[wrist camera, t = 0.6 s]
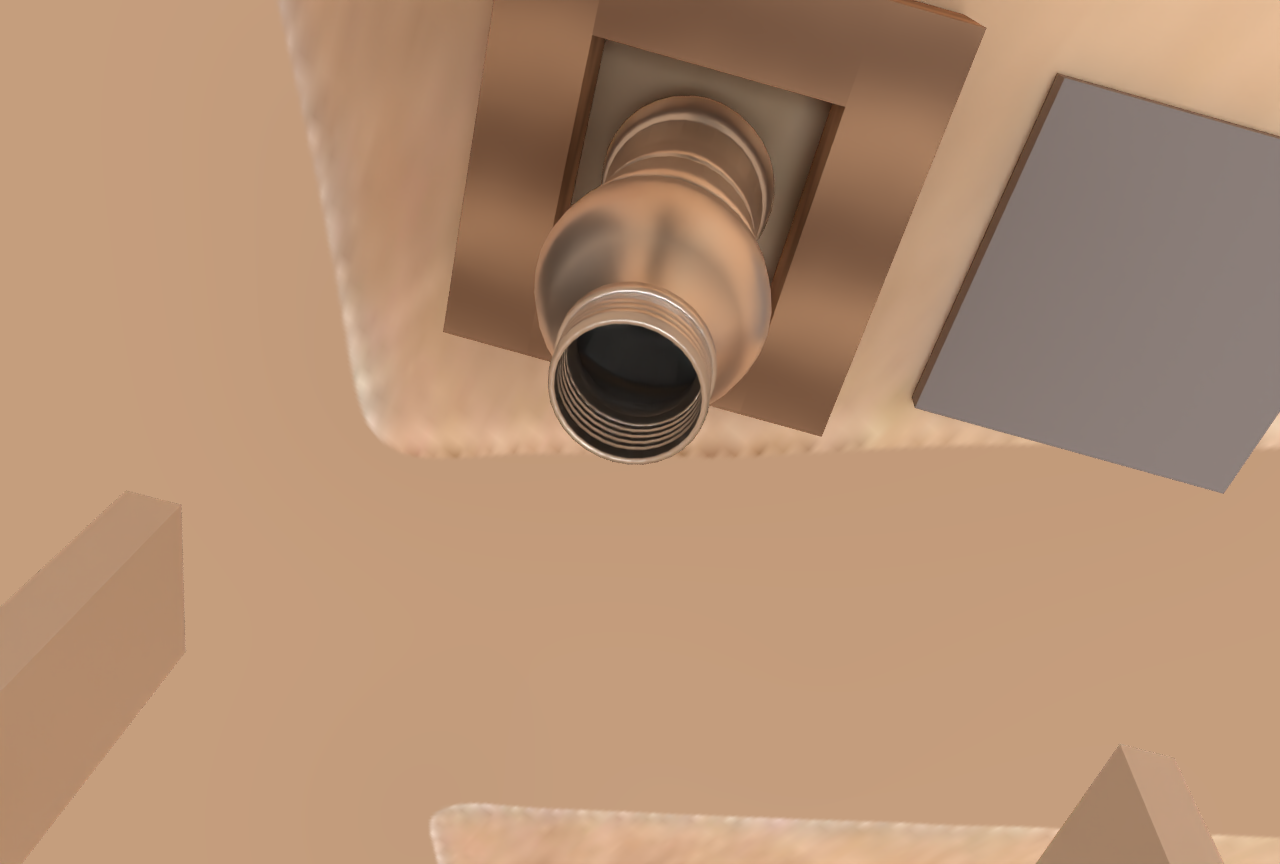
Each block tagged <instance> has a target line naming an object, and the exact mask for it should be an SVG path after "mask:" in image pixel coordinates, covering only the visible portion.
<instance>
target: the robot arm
mask: <svg viewBox="0 0 1280 864" xmlns="http://www.w3.org/2000/svg"><path fill="white" fill-rule="evenodd" d="M184 653H185V620H184V583H183V549H182V513H181V504H177V503H173V502H169V501H165V500H161V499H157V498H153V497H149V496H145V495H141V494H137V493H133V492H130V491H125V492H124V493H123V494H122V495H121V496H120V497H119V498H118V499H116V500H115V501H114V502H113V503H112V504H111V505H110V506H109V507H108V508H107V509H106V510H104V511H103V513H101V514H100V515H99V516H98V517H97V518H96V519H95V520H94V521H93V522H92V523H90V525H88V526H87V527H86V528H85V529H84V530H83V531H82V532H81V533H80V534H78V536H76V537H75V538H74V539H73V540H72V541H71V542H70V543H69V544H68V545H67V546H65V548H63V549H62V550H61V551H60V552H59V553H58V554H57V555H56V556H55V557H54V558H53V559H51V560H50V561H49V562H48V563H47V564H46V565H45V566H44V567H43V568H42V569H41V570H39V571H38V572H37V573H36V574H35V575H34V576H33V577H32V578H31V579H30V580H29V581H28V582H26V583H25V584H24V585H23V586H22V587H21V588H20V589H19V590H18V591H17V592H16V593H15V594H13V595H12V596H11V597H10V598H9V599H8V600H7V601H6V602H5V603H4V604H3V605H2V606H0V864H22V863H23V862H24V860H25V859H26V858H27V856H28V855H29V854H30V853H31V851H32V850H33V849H34V847H35V846H36V845H37V844H38V842H39V841H40V840H41V838H42V837H43V836H44V834H45V833H46V832H47V831H48V829H49V828H50V827H51V825H52V824H53V823H54V822H55V820H56V819H57V817H58V816H59V815H60V814H61V812H62V811H63V810H64V809H65V807H66V806H67V805H68V803H69V802H70V801H71V799H72V798H73V797H74V796H75V794H76V793H77V792H78V791H79V789H80V788H81V787H82V785H83V784H84V783H85V781H86V780H87V779H88V777H89V776H90V775H91V774H92V772H93V771H94V770H95V769H96V767H97V766H98V765H99V763H100V762H101V761H102V759H103V758H104V757H105V755H106V754H107V753H108V752H109V750H110V749H111V748H112V747H113V745H114V744H115V743H116V741H117V740H118V739H119V737H120V736H121V735H122V733H123V732H124V731H125V730H126V728H127V727H128V726H129V725H130V723H131V722H132V721H133V719H134V718H135V717H136V715H137V714H138V713H139V712H140V710H141V709H142V708H143V706H144V705H145V704H146V702H147V701H148V700H149V699H150V697H151V696H152V695H153V693H154V692H155V691H156V690H157V688H158V687H159V686H160V684H161V683H162V682H163V681H164V679H165V678H166V676H167V675H168V674H169V673H170V671H171V670H172V669H173V668H174V666H175V665H176V664H177V662H178V661H179V660H180V659H181V657H182V656H183V655H184ZM1036 864H1224V863H1223V860H1222V858H1221V856H1220V854H1219V852H1218V850H1217V848H1216V846H1215V843H1214V841H1213V839H1212V837H1211V835H1210V833H1209V831H1208V829H1207V826H1206V824H1205V822H1204V820H1203V818H1202V816H1201V814H1200V812H1199V809H1198V807H1197V805H1196V803H1195V801H1194V799H1193V797H1192V795H1191V792H1190V790H1189V788H1188V786H1187V784H1186V782H1185V780H1184V778H1183V776H1182V773H1181V771H1180V769H1179V767H1178V765H1177V763H1176V761H1175V758H1173V757H1169V756H1165V755H1161V754H1158V753H1154V752H1150V751H1146V750H1142V749H1138V748H1134V747H1130V746H1126V745H1122V744H1120V745H1119V746H1118V747H1117V749H1116V750H1115V752H1114V753H1113V754H1112V756H1111V757H1110V759H1109V760H1108V762H1107V763H1106V764H1105V766H1104V767H1103V769H1102V770H1101V772H1100V773H1099V774H1098V776H1097V777H1096V779H1095V780H1094V782H1093V783H1092V784H1091V786H1090V787H1089V789H1088V790H1087V791H1086V793H1085V794H1084V796H1083V797H1082V799H1081V800H1080V802H1079V803H1078V804H1077V806H1076V807H1075V809H1074V810H1073V812H1072V813H1071V814H1070V816H1069V817H1068V819H1067V820H1066V821H1065V823H1064V824H1063V826H1062V827H1061V829H1060V830H1059V831H1058V833H1057V834H1056V836H1055V837H1054V839H1053V840H1052V841H1051V843H1050V844H1049V846H1048V847H1047V849H1046V850H1045V851H1044V853H1043V854H1042V856H1041V857H1040V859H1039V860H1038V861H1037V863H1036Z"/></svg>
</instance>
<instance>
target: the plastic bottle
mask: <svg viewBox="0 0 1280 864" xmlns="http://www.w3.org/2000/svg"><path fill="white" fill-rule="evenodd" d="M773 199H774V174H773V169H772V165H771V160H770V157H769V155H768V153H767V150H766V148H765V146H764V144H763V142H762V140H761V139H760V137H759V136H758V134H757V133H756V132H755V130H754V129H753V127H752V126H751V125H750V124H749V123H747V122H746V121H745V120H744V119H743V118H742V117H741V116H740V115H739V114H738V113H737V112H735V111H734V110H732V109H730V108H729V107H727V106H726V105H724V104H722V103H719V102H717V101H714V100H712V99H709V98H704V97H698V96H672V97H668V98H664V99H660V100H657V101H654V102H652V103H650V104H648V105H646V106H644V107H642V108H640V109H639V110H638V111H637V112H635V113H634V114H633V115H632V116H630V117H629V118H628V119H627V120H626V121H625V122H624V123H623V125H622V126H621V127H620V128H619V130H618V131H617V132H616V134H615V136H614V138H613V140H612V142H611V144H610V145H609V147H608V151H607V154H606V158H605V161H604V166H603V173H602V185H601V186H599V187H598V188H596V189H594V190H592V191H590V192H589V193H587V194H586V195H585V196H584V197H582V198H581V199H580V200H579V201H577V202H576V203H575V204H573V205H572V206H571V207H570V208H569V209H568V210H567V211H566V212H565V213H564V214H563V216H562V217H561V218H560V219H559V221H558V222H557V223H556V224H555V225H554V227H553V228H552V229H551V231H550V233H549V235H548V237H547V239H546V241H545V243H544V244H543V246H542V248H541V251H540V255H539V259H538V263H537V267H536V270H535V289H534V295H535V301H536V308H537V315H538V321H539V327H540V330H541V333H542V335H543V338H544V341H545V344H546V346H547V348H548V350H549V352H550V353H551V355H552V359H551V363H550V366H549V377H548V390H549V397H550V402H551V405H552V407H553V410H554V413H555V415H556V417H557V419H558V420H559V422H560V424H561V425H562V427H563V428H564V430H565V431H566V432H567V433H568V434H569V435H570V436H571V437H572V439H573V440H575V441H576V442H577V443H578V444H580V445H581V446H582V447H583V448H585V449H586V450H588V451H590V452H591V453H593V454H595V455H597V456H599V457H602V458H604V459H607V460H610V461H612V462H618V463H623V464H642V465H643V464H649V463H655V462H659V461H662V460H664V459H667V458H670V457H672V456H673V455H675V454H677V453H678V452H680V451H681V450H683V449H684V448H685V447H686V446H687V445H688V444H689V443H690V442H691V441H693V439H694V438H695V436H696V435H697V433H698V432H699V430H700V429H701V427H702V425H703V423H704V420H705V418H706V415H707V413H708V408H709V405H710V404H711V403H713V402H714V401H716V400H718V399H719V398H721V397H722V396H724V395H725V394H726V393H727V392H728V391H729V390H730V389H731V388H732V387H733V386H735V385H736V384H737V383H738V382H739V381H740V380H741V379H742V378H743V376H744V375H745V374H746V373H747V372H748V371H749V369H750V368H751V366H752V365H753V363H754V362H755V360H756V359H757V357H758V356H759V354H760V352H761V350H762V347H763V345H764V342H765V340H766V337H767V335H768V330H769V324H770V319H771V313H772V311H771V288H770V283H769V277H768V273H767V269H766V264H765V260H764V257H763V254H762V252H761V250H760V248H759V246H758V243H757V240H758V239H759V237H760V236H761V234H762V232H763V230H764V228H765V226H766V224H767V221H768V218H769V216H770V213H771V211H772V205H773Z"/></svg>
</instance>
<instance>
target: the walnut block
mask: <svg viewBox="0 0 1280 864" xmlns="http://www.w3.org/2000/svg"><path fill="white" fill-rule="evenodd" d="M985 30H986V28H985V27H984V26H982V25H980V24H979V23H977V22H975V21H974V20H972V19H970V18H969V17H967V16H965V15H963V14H960V13H956V12H953V11H949V10H946V9H942V8H939V7H935V6H932V5H928V4H925V3H921V2H918V1H914V0H494V3H493V9H492V16H491V23H490V29H489V36H488V42H487V49H486V55H485V62H484V68H483V75H482V81H481V88H480V95H479V101H478V108H477V114H476V121H475V127H474V134H473V140H472V147H471V153H470V160H469V167H468V173H467V180H466V186H465V193H464V199H463V206H462V212H461V219H460V225H459V232H458V239H457V245H456V252H455V258H454V265H453V271H452V278H451V284H450V291H449V298H448V304H447V311H446V317H445V324H444V330H443V332H445V333H449V334H453V335H456V336H460V337H463V338H467V339H471V340H474V341H478V342H481V343H485V344H489V345H492V346H496V347H500V348H503V349H507V350H510V351H514V352H518V353H521V354H525V355H528V356H532V357H536V358H539V359H543V360H547V361H550V362H551V359H552V355H551V353H550V352H549V350H548V348H547V346H546V344H545V341H544V338H543V335H542V333H541V330H540V327H539V321H538V315H537V308H536V301H535V295H534V289H535V270H536V267H537V263H538V259H539V255H540V251H541V248H542V246H543V244H544V243H545V241H546V239H547V237H548V235H549V233H550V231H551V229H552V228H553V227H554V225H555V224H556V223H557V222H558V221H559V219H560V218H561V217H562V216H563V214H564V213H565V212H566V211H567V210H568V209H569V208H570V204H571V199H572V195H573V190H574V185H575V181H576V176H577V171H578V166H579V162H580V157H581V152H582V148H583V143H584V138H585V134H586V129H587V124H588V119H589V115H590V110H591V105H592V101H593V96H594V91H595V86H596V82H597V77H598V72H599V68H600V63H601V58H602V53H603V49H604V44H605V39H608V40H611V41H615V42H618V43H622V44H625V45H629V46H632V47H636V48H639V49H643V50H646V51H650V52H653V53H657V54H660V55H664V56H667V57H671V58H675V59H678V60H682V61H685V62H689V63H692V64H696V65H699V66H703V67H706V68H710V69H713V70H717V71H720V72H724V73H727V74H731V75H735V76H738V77H742V78H745V79H749V80H752V81H756V82H759V83H763V84H766V85H770V86H773V87H777V88H780V89H784V90H787V91H791V92H795V93H798V94H802V95H805V96H809V97H812V98H816V99H819V100H823V101H826V102H830V103H833V104H832V107H831V109H830V112H829V115H828V118H827V121H826V124H825V127H824V130H823V133H822V136H821V139H820V142H819V145H818V148H817V151H816V154H815V157H814V160H813V163H812V166H811V169H810V172H809V174H808V177H807V180H806V183H805V186H804V189H803V192H802V195H801V198H800V201H799V204H798V207H797V210H796V213H795V216H794V219H793V222H792V225H791V228H790V231H789V234H788V236H787V239H786V242H785V245H784V248H783V251H782V254H781V257H780V260H779V263H778V266H777V269H776V272H775V275H774V278H773V281H772V284H771V287H770V288H771V311H772V313H771V319H770V324H769V330H768V335H767V337H766V340H765V342H764V345H763V347H762V350H761V352H760V354H759V356H758V357H757V359H756V360H755V362H754V363H753V365H752V366H751V368H750V369H749V371H748V372H747V373H746V374H745V375H744V376H743V378H742V379H741V380H740V381H739V382H738V383H737V384H736V385H735V386H733V387H732V388H731V389H730V390H729V391H728V392H727V393H726V394H725V395H724V396H722V397H721V398H719V399H718V400H716V401H714V402H713V403H711V404H710V405H709V406H713V407H716V408H720V409H724V410H727V411H731V412H734V413H738V414H742V415H745V416H749V417H753V418H756V419H760V420H763V421H767V422H771V423H774V424H778V425H781V426H785V427H789V428H792V429H796V430H800V431H803V432H807V433H810V434H814V435H818V436H821V437H822V434H823V432H824V429H825V427H826V424H827V422H828V419H829V417H830V414H831V412H832V409H833V407H834V404H835V402H836V400H837V397H838V395H839V392H840V390H841V387H842V385H843V382H844V380H845V377H846V375H847V372H848V370H849V367H850V365H851V362H852V360H853V357H854V355H855V352H856V350H857V347H858V345H859V342H860V340H861V338H862V335H863V333H864V330H865V328H866V325H867V323H868V320H869V318H870V315H871V313H872V310H873V308H874V305H875V303H876V300H877V298H878V295H879V293H880V290H881V288H882V285H883V283H884V280H885V278H886V276H887V273H888V271H889V268H890V266H891V263H892V261H893V258H894V256H895V253H896V251H897V248H898V246H899V243H900V241H901V238H902V236H903V233H904V231H905V228H906V226H907V223H908V221H909V219H910V216H911V214H912V211H913V209H914V206H915V204H916V201H917V199H918V196H919V194H920V191H921V189H922V186H923V184H924V181H925V179H926V176H927V174H928V171H929V169H930V166H931V164H932V161H933V159H934V157H935V154H936V152H937V149H938V147H939V144H940V142H941V139H942V137H943V134H944V132H945V129H946V127H947V124H948V122H949V119H950V117H951V114H952V112H953V109H954V107H955V104H956V102H957V100H958V97H959V95H960V92H961V90H962V87H963V85H964V82H965V80H966V77H967V75H968V72H969V70H970V67H971V65H972V62H973V60H974V57H975V55H976V52H977V50H978V47H979V45H980V42H981V40H982V38H983V35H984V33H985Z"/></svg>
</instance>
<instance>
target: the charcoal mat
mask: <svg viewBox="0 0 1280 864" xmlns="http://www.w3.org/2000/svg"><path fill="white" fill-rule="evenodd" d="M912 399H913V403H914V406H915V408H917V409H921V410H924V411H928V412H932V413H935V414H939V415H942V416H946V417H950V418H953V419H957V420H960V421H964V422H968V423H971V424H975V425H978V426H982V427H986V428H989V429H993V430H996V431H1000V432H1004V433H1007V434H1011V435H1014V436H1018V437H1022V438H1025V439H1029V440H1032V441H1036V442H1040V443H1043V444H1047V445H1050V446H1054V447H1058V448H1061V449H1065V450H1069V451H1072V452H1076V453H1079V454H1083V455H1086V456H1090V457H1094V458H1098V459H1101V460H1104V461H1108V462H1112V463H1115V464H1119V465H1122V466H1126V467H1130V468H1133V469H1137V470H1140V471H1144V472H1148V473H1151V474H1155V475H1158V476H1162V477H1166V478H1169V479H1173V480H1176V481H1180V482H1184V483H1187V484H1191V485H1194V486H1198V487H1202V488H1205V489H1209V490H1212V491H1216V492H1220V493H1224V492H1225V491H1226V489H1227V488H1228V486H1229V485H1230V484H1231V482H1232V481H1233V479H1234V478H1235V476H1236V475H1237V473H1238V472H1239V470H1240V469H1241V468H1242V466H1243V464H1244V463H1245V462H1246V460H1247V459H1248V457H1249V456H1250V454H1251V453H1252V451H1253V450H1254V449H1255V447H1256V446H1257V444H1258V443H1259V441H1260V440H1261V438H1262V437H1263V435H1264V434H1265V432H1266V431H1267V430H1268V428H1269V427H1270V425H1271V424H1272V422H1273V421H1274V419H1275V418H1276V416H1277V415H1278V413H1279V412H1280V137H1279V136H1275V135H1272V134H1268V133H1265V132H1261V131H1258V130H1254V129H1251V128H1247V127H1244V126H1240V125H1237V124H1233V123H1230V122H1226V121H1223V120H1219V119H1216V118H1212V117H1209V116H1205V115H1202V114H1198V113H1195V112H1191V111H1188V110H1184V109H1181V108H1177V107H1174V106H1170V105H1167V104H1163V103H1160V102H1156V101H1153V100H1149V99H1146V98H1142V97H1139V96H1135V95H1132V94H1128V93H1125V92H1121V91H1118V90H1114V89H1111V88H1107V87H1104V86H1100V85H1097V84H1093V83H1090V82H1086V81H1083V80H1079V79H1076V78H1072V77H1069V76H1065V75H1062V74H1057V76H1056V78H1055V80H1054V82H1053V85H1052V87H1051V89H1050V91H1049V94H1048V96H1047V98H1046V100H1045V102H1044V105H1043V107H1042V109H1041V111H1040V114H1039V116H1038V118H1037V120H1036V122H1035V125H1034V127H1033V129H1032V131H1031V134H1030V136H1029V138H1028V140H1027V143H1026V145H1025V147H1024V149H1023V151H1022V154H1021V156H1020V158H1019V160H1018V163H1017V165H1016V167H1015V169H1014V171H1013V174H1012V176H1011V178H1010V180H1009V183H1008V185H1007V187H1006V189H1005V191H1004V194H1003V196H1002V198H1001V200H1000V203H999V205H998V207H997V209H996V211H995V214H994V216H993V218H992V220H991V223H990V225H989V227H988V229H987V231H986V234H985V236H984V238H983V240H982V243H981V245H980V247H979V249H978V251H977V254H976V256H975V258H974V260H973V263H972V265H971V267H970V269H969V272H968V274H967V276H966V278H965V280H964V283H963V285H962V287H961V289H960V292H959V294H958V296H957V298H956V300H955V303H954V305H953V307H952V309H951V312H950V314H949V316H948V318H947V320H946V323H945V325H944V327H943V329H942V332H941V334H940V336H939V338H938V340H937V343H936V345H935V347H934V349H933V352H932V354H931V356H930V358H929V360H928V363H927V365H926V367H925V369H924V372H923V374H922V376H921V378H920V381H919V383H918V385H917V387H916V389H915V392H914V394H913V396H912Z"/></svg>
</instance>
